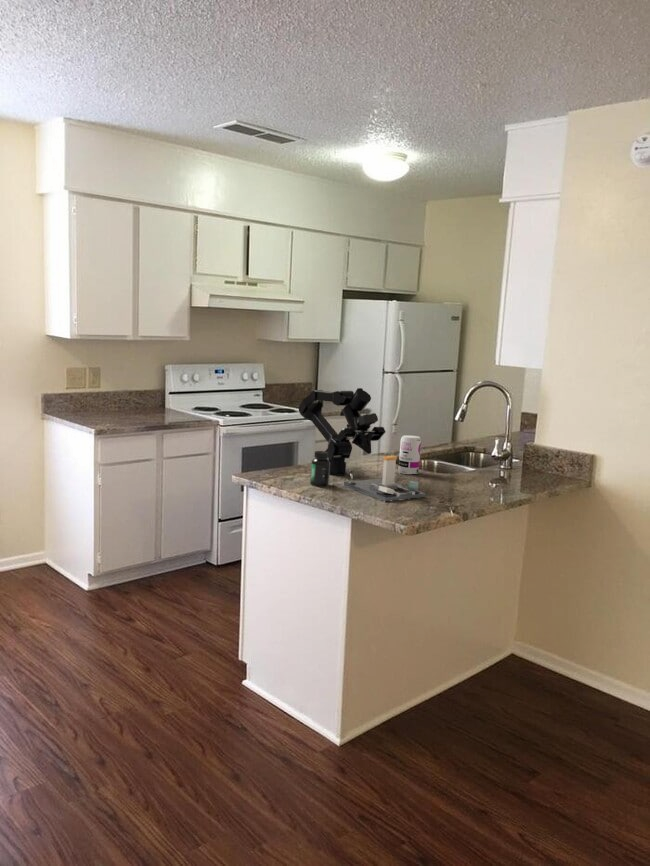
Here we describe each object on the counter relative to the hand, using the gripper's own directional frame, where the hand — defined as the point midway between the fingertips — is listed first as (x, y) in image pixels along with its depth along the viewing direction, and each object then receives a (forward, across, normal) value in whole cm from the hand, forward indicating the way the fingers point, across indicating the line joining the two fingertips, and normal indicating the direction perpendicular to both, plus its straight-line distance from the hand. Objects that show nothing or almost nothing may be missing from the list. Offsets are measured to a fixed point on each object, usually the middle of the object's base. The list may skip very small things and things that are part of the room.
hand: (369, 453), depth 263 cm
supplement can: (0, +29, +17) cm, 34 cm away
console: (+15, 0, +2) cm, 15 cm away
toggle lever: (+7, -8, +6) cm, 12 cm away
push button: (+20, +6, -6) cm, 21 cm away
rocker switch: (+20, -6, -6) cm, 21 cm away
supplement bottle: (+4, -17, +14) cm, 22 cm away
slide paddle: (+15, 0, -1) cm, 15 cm away
